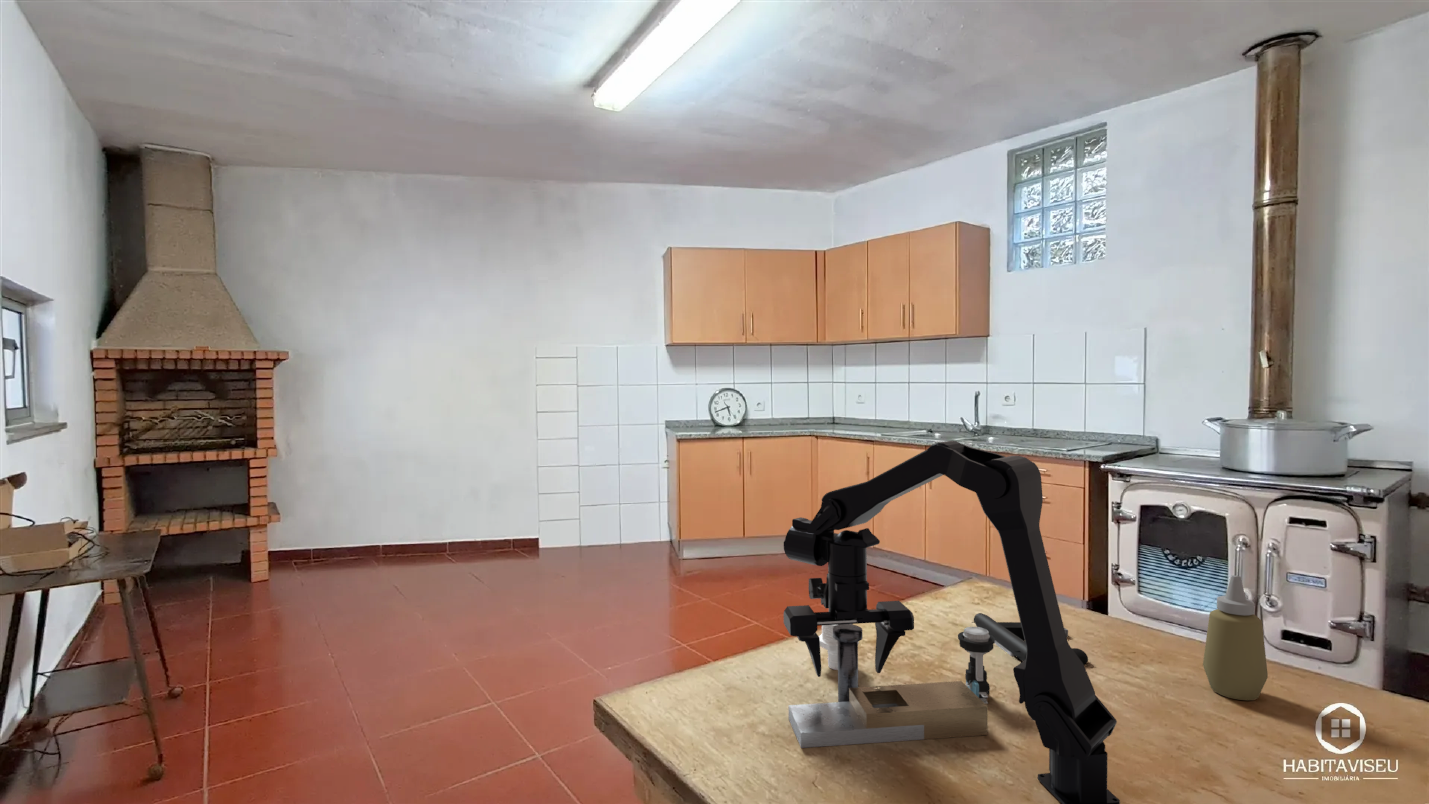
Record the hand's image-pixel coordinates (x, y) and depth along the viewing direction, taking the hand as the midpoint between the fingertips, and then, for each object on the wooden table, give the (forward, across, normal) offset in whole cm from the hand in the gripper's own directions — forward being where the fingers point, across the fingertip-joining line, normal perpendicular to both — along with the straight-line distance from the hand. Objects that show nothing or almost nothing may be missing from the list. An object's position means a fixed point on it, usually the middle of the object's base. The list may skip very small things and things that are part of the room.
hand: (848, 673), depth 107 cm
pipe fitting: (+4, -2, -13) cm, 14 cm away
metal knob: (+4, 0, 0) cm, 4 cm away
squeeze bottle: (+5, -59, +5) cm, 59 cm away
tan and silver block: (+4, -3, +8) cm, 10 cm away
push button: (+5, -20, +1) cm, 20 cm away
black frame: (+5, -40, -17) cm, 44 cm away
